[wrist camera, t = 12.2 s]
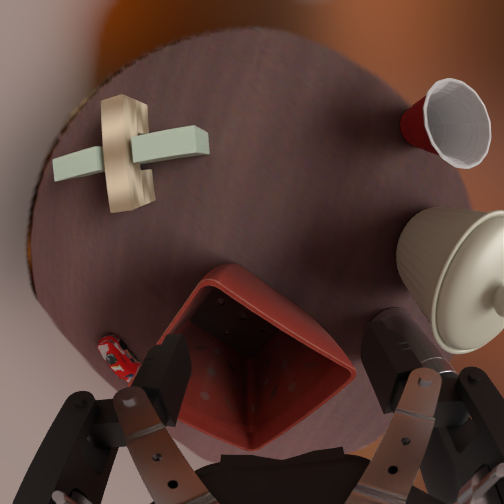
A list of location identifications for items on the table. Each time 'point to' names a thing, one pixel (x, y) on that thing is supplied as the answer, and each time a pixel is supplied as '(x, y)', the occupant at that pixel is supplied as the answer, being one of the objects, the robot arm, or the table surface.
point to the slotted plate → (124, 153)
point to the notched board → (136, 152)
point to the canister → (456, 273)
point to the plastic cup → (449, 124)
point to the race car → (118, 357)
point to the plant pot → (253, 360)
